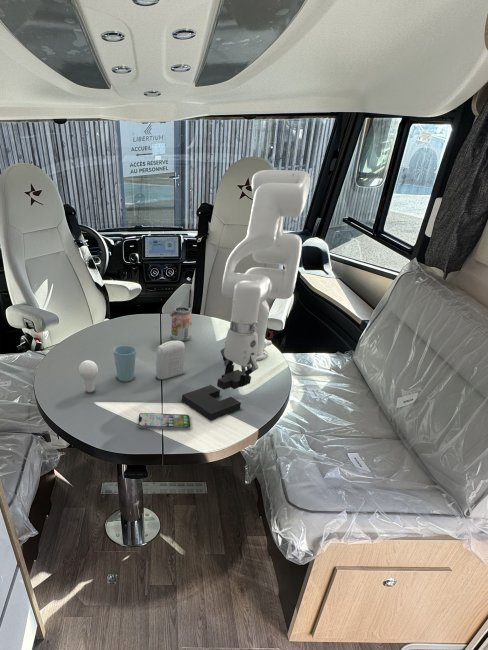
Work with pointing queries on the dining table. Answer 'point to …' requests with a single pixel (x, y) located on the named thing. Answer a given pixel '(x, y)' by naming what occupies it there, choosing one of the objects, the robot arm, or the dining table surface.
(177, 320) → the beverage can
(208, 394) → the base pad
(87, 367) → the lightbulb
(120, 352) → the cup
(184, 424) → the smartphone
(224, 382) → the tab pad
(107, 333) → the dining table surface
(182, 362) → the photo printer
